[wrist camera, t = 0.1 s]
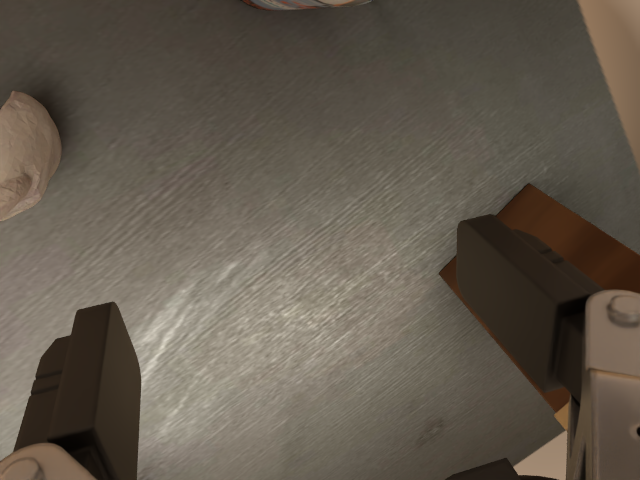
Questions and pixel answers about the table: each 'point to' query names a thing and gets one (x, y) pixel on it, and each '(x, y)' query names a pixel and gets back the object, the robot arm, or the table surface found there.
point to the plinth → (573, 245)
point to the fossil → (25, 153)
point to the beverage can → (302, 4)
